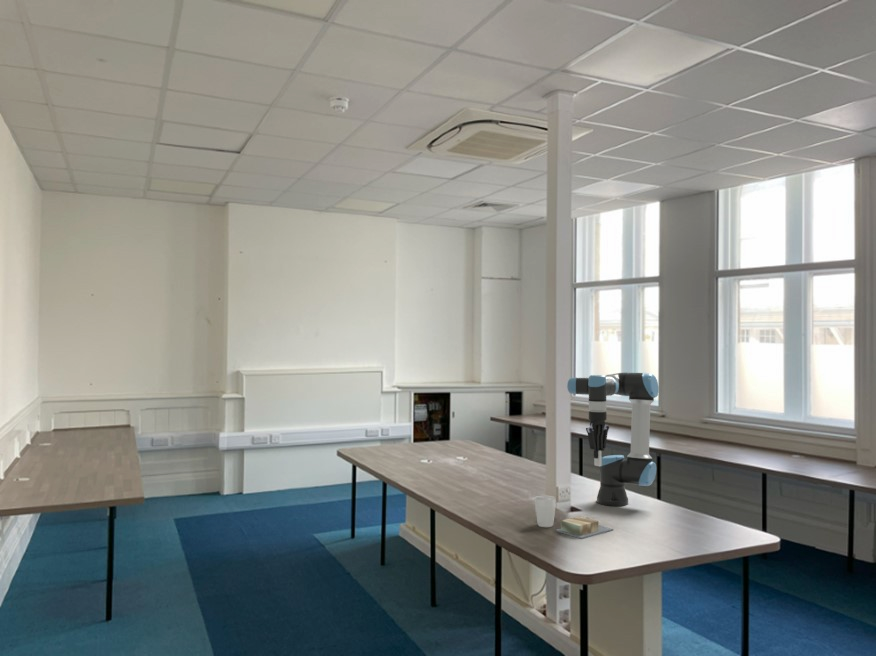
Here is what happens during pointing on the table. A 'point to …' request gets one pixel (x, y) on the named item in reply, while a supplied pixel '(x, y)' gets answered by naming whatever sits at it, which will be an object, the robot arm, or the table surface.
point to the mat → (601, 530)
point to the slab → (579, 525)
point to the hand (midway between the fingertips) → (598, 465)
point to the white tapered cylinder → (545, 510)
